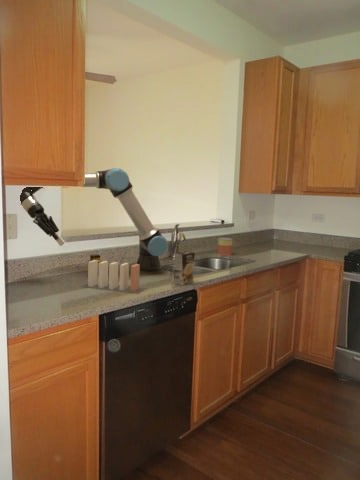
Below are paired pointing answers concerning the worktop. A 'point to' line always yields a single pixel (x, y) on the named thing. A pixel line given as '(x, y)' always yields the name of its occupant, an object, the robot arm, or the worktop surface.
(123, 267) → the domino
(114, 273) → the domino
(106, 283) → the domino
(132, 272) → the domino
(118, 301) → the worktop surface
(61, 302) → the worktop surface
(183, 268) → the coffee box
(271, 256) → the worktop surface
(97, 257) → the condiment
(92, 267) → the domino
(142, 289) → the mat
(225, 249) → the canned food
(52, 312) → the worktop surface
